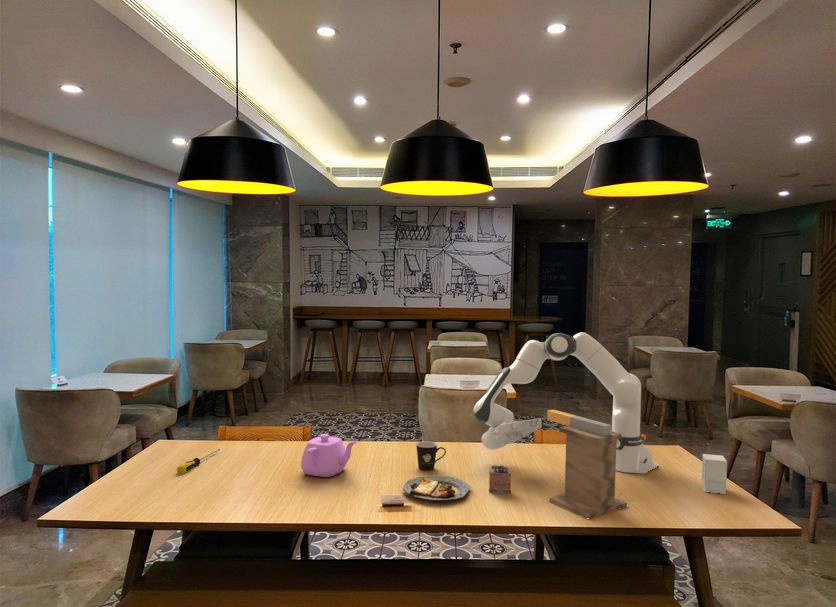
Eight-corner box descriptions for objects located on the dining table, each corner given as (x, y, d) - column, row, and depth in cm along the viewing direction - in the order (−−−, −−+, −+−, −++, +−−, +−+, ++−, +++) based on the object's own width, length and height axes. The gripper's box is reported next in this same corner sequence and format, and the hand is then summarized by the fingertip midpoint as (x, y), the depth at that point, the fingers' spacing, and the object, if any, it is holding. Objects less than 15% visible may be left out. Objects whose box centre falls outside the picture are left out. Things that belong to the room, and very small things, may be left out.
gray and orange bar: (553, 418, 212) (553, 409, 211) (611, 435, 190) (611, 425, 190) (547, 419, 210) (547, 410, 210) (604, 436, 188) (604, 426, 188)
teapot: (288, 479, 216) (289, 440, 216) (317, 462, 236) (317, 427, 235) (341, 487, 208) (341, 447, 208) (366, 470, 228) (366, 433, 227)
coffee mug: (412, 470, 229) (413, 445, 228) (420, 463, 237) (420, 440, 236) (439, 474, 224) (439, 449, 224) (446, 467, 232) (447, 443, 232)
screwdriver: (183, 466, 219) (223, 445, 249) (175, 465, 220) (216, 445, 249) (183, 475, 219) (223, 453, 249) (175, 474, 220) (216, 452, 249)
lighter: (510, 490, 208) (511, 464, 207) (511, 494, 204) (511, 467, 204) (488, 489, 208) (489, 463, 208) (488, 493, 205) (489, 466, 205)
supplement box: (722, 488, 214) (723, 455, 213) (726, 495, 207) (727, 461, 206) (701, 485, 216) (702, 453, 216) (704, 492, 209) (705, 458, 209)
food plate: (457, 509, 190) (457, 499, 190) (393, 499, 198) (394, 489, 198) (475, 486, 213) (476, 477, 213) (418, 478, 221) (418, 469, 221)
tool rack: (587, 490, 209) (589, 421, 208) (626, 506, 194) (629, 432, 193) (549, 501, 198) (551, 428, 197) (587, 519, 184) (590, 440, 183)
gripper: (487, 427, 225) (508, 416, 215) (525, 421, 236) (546, 410, 226) (492, 442, 223) (513, 432, 212) (530, 435, 234) (552, 426, 223)
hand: (531, 421), depth 219 cm, fingers open, 8 cm apart
